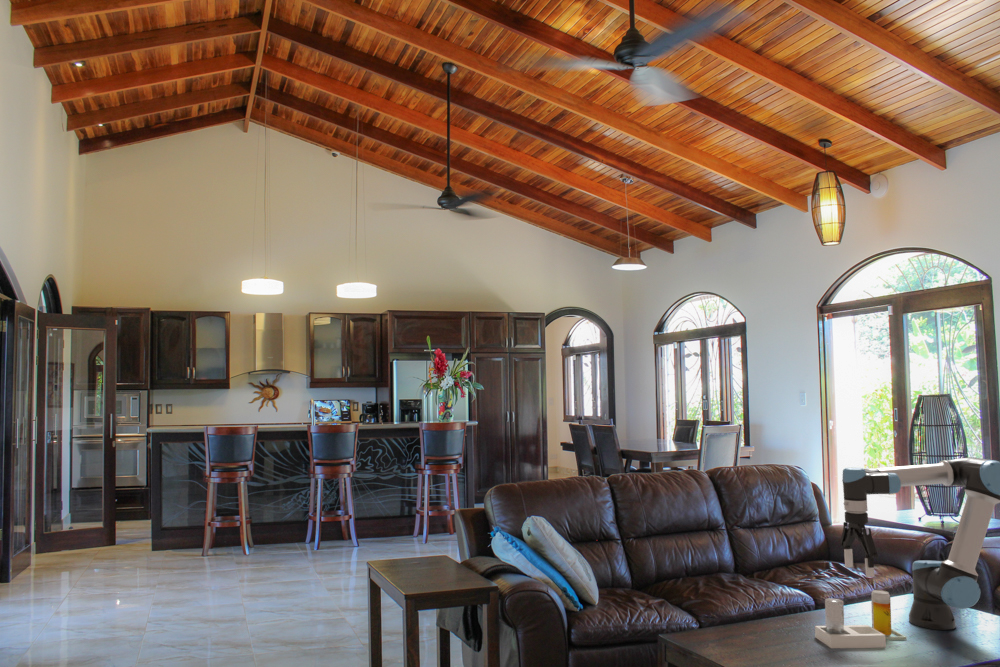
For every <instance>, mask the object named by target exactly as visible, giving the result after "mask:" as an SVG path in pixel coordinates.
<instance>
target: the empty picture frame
mask: <svg viewBox="0 0 1000 667" xmlns="http://www.w3.org/2000/svg"><path fill="white" fill-rule="evenodd" d="M891 634H894V635H895V636H890V637H885V639H886V640H888V641H907V638H908V637H907V636H905V635H903V634H901V633H900V632H898V631H897V630H894V629H893V628H891Z"/></svg>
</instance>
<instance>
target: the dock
mask: <svg viewBox="0 0 1000 667" xmlns="http://www.w3.org/2000/svg"><path fill="white" fill-rule="evenodd" d="M814 629H815V630H814V631H815V632H814V634H815V636H814V637H815V638H816V639H817V640H819V641H820V642H822V644H824V645H825V646H827V647H829V648H830V649H859V648H860V649H862V648H863V649H864V648H869V649H871V648H873V649H874V648H886V647H887V644H886V641H887V639H885V635H884V634H882V633H881V632H879V631H877V630H875V629H874V628H872V626H870V625H868V624H856V625H855V624H852V625H851V624H850V625H849V624H848V625H846V624H844V634H831V635H830V634H828V633H827V632H826V625H815V626H814Z"/></svg>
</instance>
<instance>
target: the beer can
mask: <svg viewBox="0 0 1000 667" xmlns="http://www.w3.org/2000/svg"><path fill="white" fill-rule="evenodd" d="M870 595H871V596H870V597H871V601H870V602H871V625H872V626H871V627H872V628H874V629H875V630H877V631H879V632H881V633H882V634H884V635H885V637H891V636H892V632H891V629H892V611H891V610H892V609H891V595H890V593H889V591H886V590H882V589H874V590H872V591H871V594H870Z"/></svg>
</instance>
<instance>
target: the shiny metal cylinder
mask: <svg viewBox="0 0 1000 667" xmlns="http://www.w3.org/2000/svg"><path fill="white" fill-rule="evenodd" d="M824 608H825V609H824V612H825V626H826V632H827V633H828V634H830V635H831V634H844V625H845V615H844V614H845V612H844V610H845V608H844V600H842V599H839V598H830V597H829V598H828V597H827V598H825V599H824Z"/></svg>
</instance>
